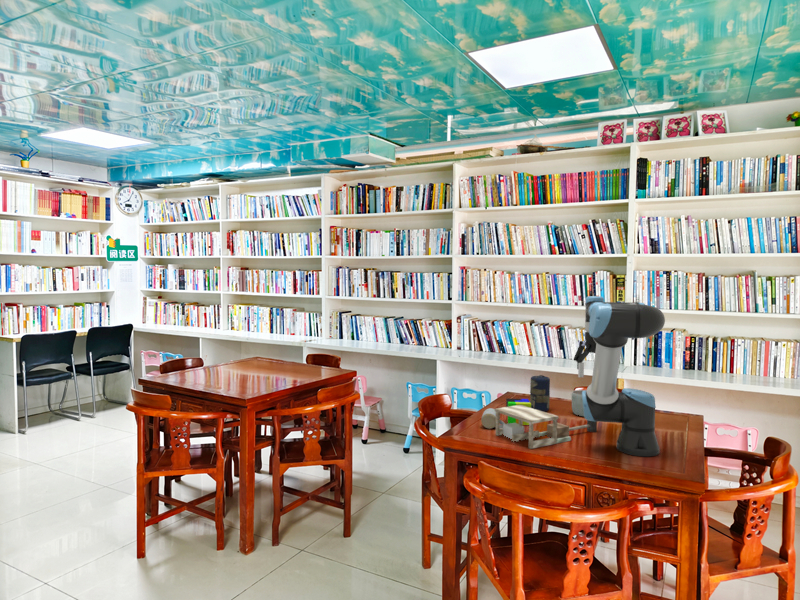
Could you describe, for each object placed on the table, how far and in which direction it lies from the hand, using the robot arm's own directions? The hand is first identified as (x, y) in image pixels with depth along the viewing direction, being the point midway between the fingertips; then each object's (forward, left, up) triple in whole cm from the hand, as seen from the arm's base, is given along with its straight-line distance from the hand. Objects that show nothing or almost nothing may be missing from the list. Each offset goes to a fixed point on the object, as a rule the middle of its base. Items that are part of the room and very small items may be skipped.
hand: (593, 379), depth 233 cm
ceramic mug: (+24, +36, -22) cm, 49 cm away
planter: (+20, -17, -22) cm, 34 cm away
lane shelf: (+4, +32, -22) cm, 39 cm away
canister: (+37, -4, -22) cm, 43 cm away
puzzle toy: (+25, +21, -22) cm, 39 cm away
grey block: (+9, +38, -22) cm, 45 cm away
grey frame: (-1, +12, -22) cm, 25 cm away
